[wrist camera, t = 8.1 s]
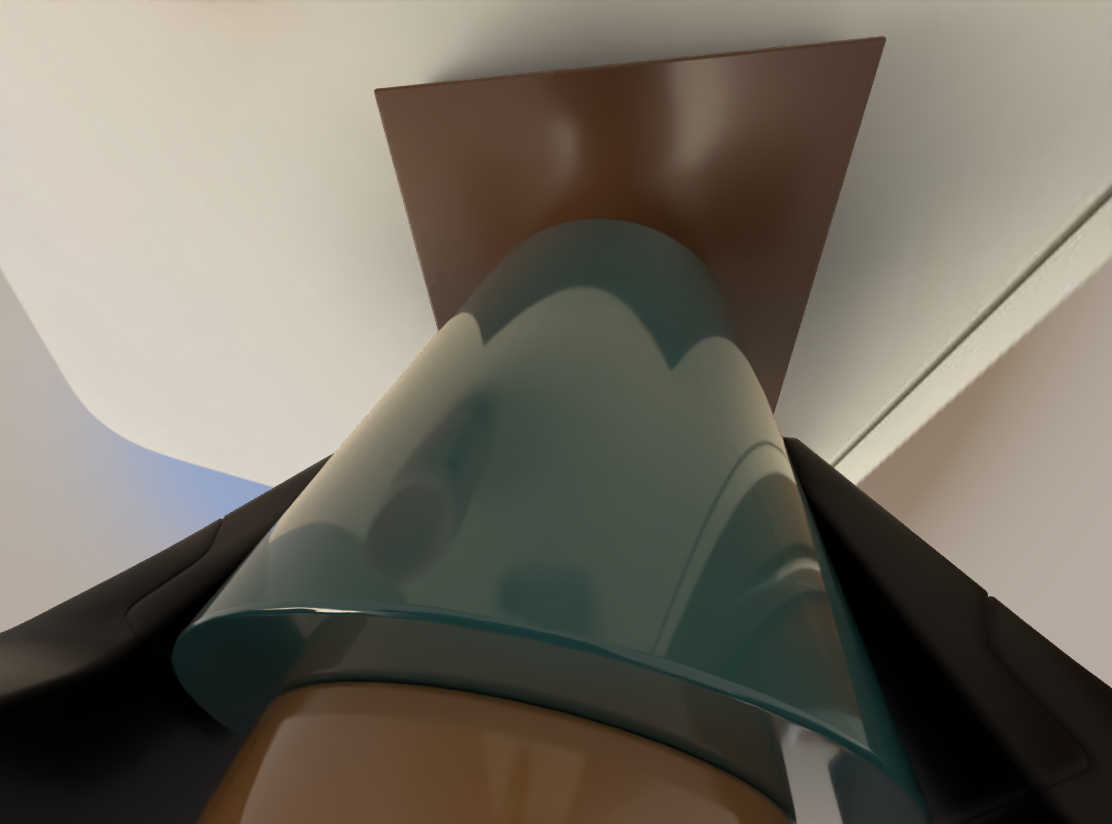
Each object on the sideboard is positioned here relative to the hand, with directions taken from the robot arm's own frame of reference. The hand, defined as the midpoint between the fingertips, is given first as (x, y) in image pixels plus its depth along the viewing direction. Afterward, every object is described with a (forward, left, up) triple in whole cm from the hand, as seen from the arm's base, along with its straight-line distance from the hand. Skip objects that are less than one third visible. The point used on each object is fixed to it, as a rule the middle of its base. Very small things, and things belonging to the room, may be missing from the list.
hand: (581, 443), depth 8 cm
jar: (0, 0, +1) cm, 1 cm away
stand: (-2, 0, -10) cm, 10 cm away
